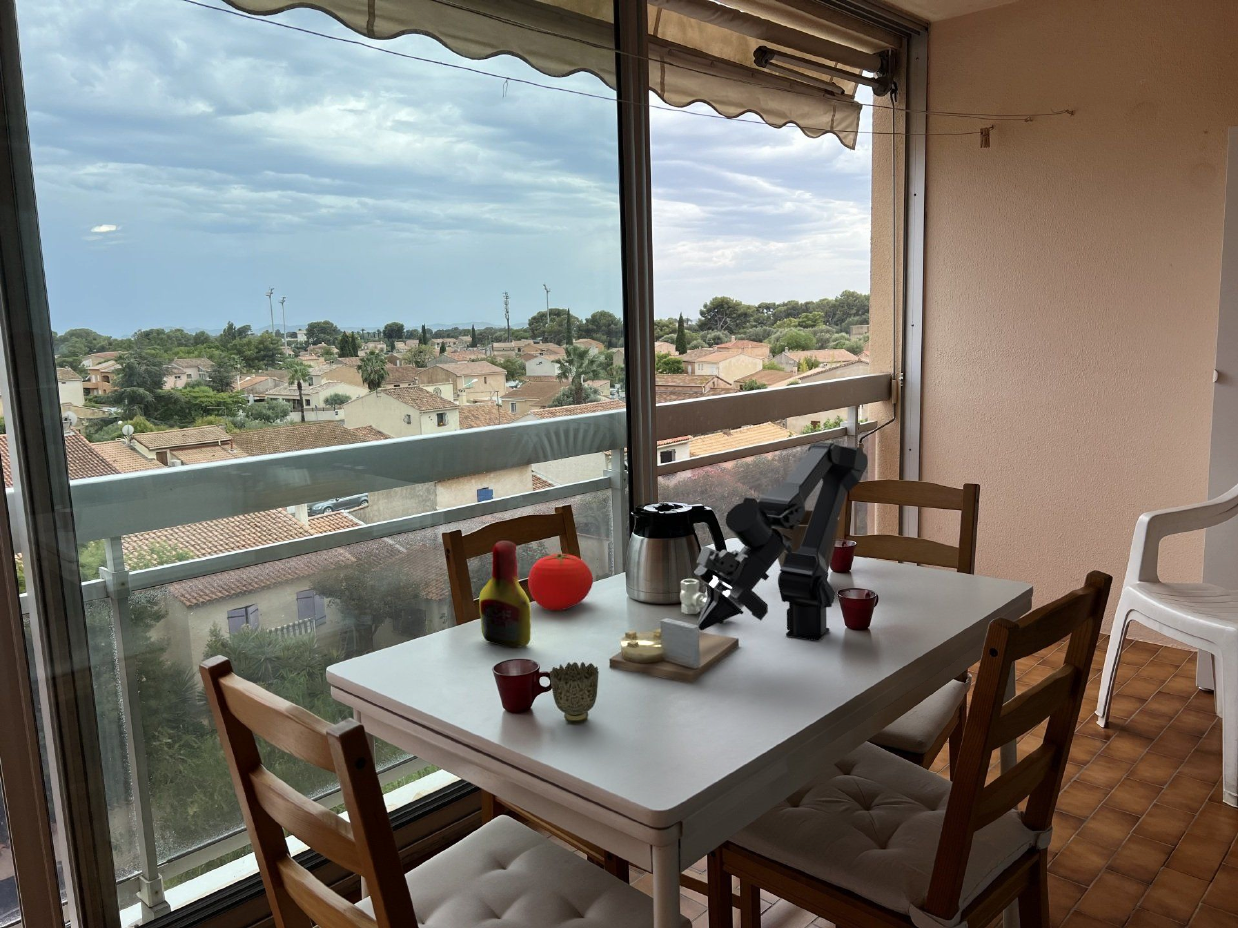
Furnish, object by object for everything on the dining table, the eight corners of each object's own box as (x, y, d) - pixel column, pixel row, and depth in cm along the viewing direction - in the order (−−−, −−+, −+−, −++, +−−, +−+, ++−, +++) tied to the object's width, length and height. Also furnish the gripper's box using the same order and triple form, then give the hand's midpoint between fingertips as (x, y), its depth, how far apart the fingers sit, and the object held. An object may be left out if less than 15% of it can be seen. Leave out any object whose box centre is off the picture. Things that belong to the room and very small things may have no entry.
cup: (551, 711, 141) (549, 662, 140) (599, 708, 142) (596, 659, 141) (552, 732, 134) (549, 681, 133) (602, 729, 135) (599, 677, 133)
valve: (671, 612, 187) (708, 627, 177) (670, 581, 186) (707, 595, 176) (696, 606, 191) (734, 620, 181) (696, 575, 190) (733, 588, 180)
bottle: (541, 645, 171) (535, 541, 168) (516, 655, 166) (509, 549, 163) (499, 632, 179) (493, 533, 176) (474, 641, 174) (467, 540, 171)
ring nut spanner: (610, 655, 159) (609, 616, 158) (643, 640, 166) (642, 603, 165) (680, 675, 149) (679, 634, 148) (712, 658, 156) (711, 619, 155)
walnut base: (738, 646, 166) (738, 638, 166) (691, 682, 150) (690, 674, 150) (662, 633, 175) (662, 625, 174) (609, 666, 159) (609, 658, 159)
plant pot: (846, 596, 193) (846, 523, 190) (776, 599, 193) (775, 525, 191) (831, 577, 208) (830, 508, 205) (766, 579, 208) (764, 511, 205)
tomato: (545, 595, 202) (542, 544, 200) (601, 600, 197) (599, 548, 196) (518, 613, 191) (515, 559, 189) (577, 618, 186) (575, 563, 184)
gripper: (703, 519, 163) (647, 586, 162) (749, 541, 146) (688, 616, 144) (743, 556, 167) (689, 622, 165) (793, 582, 149) (734, 656, 148)
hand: (698, 628), depth 155 cm, fingers closed
